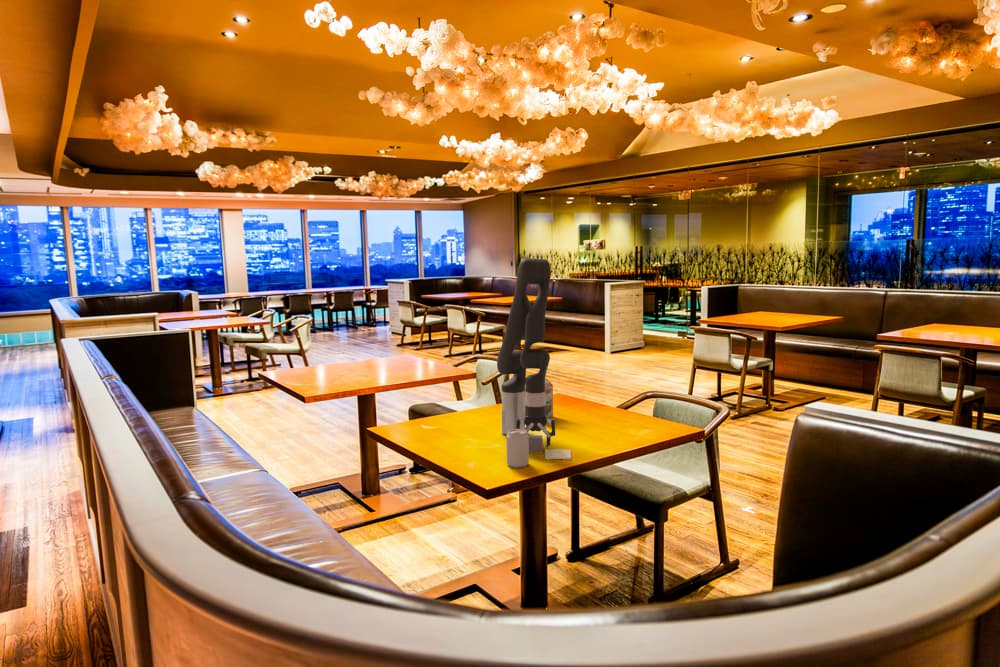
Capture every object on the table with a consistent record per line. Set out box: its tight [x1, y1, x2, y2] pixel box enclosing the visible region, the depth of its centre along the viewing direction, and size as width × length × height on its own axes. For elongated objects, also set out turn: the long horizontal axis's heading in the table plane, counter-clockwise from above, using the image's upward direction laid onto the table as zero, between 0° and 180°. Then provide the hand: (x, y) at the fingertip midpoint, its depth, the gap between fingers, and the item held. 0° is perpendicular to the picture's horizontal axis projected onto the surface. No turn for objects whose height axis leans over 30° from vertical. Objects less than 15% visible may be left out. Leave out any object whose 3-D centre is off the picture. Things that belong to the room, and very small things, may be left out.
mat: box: [544, 449, 572, 461], centre depth 230 cm, size 9×9×1 cm
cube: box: [528, 434, 544, 454], centre depth 236 cm, size 5×5×5 cm
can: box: [505, 429, 530, 469], centre depth 220 cm, size 8×8×12 cm
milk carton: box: [525, 377, 554, 419], centre depth 281 cm, size 11×11×19 cm
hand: (535, 446), depth 236 cm, fingers open, 8 cm apart
